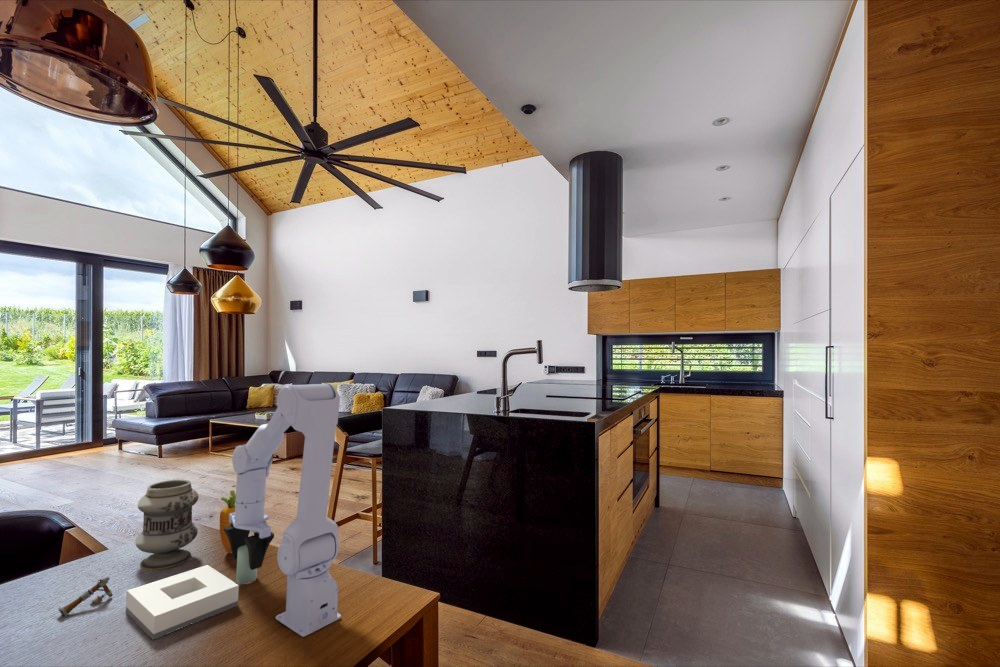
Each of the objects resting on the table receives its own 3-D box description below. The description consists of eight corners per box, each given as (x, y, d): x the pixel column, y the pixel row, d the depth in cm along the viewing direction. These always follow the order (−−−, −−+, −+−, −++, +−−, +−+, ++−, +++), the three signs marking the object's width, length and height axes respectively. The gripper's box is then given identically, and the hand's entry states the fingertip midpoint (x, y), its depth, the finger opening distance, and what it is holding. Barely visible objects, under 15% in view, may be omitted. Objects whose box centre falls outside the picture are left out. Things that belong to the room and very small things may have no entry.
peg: (260, 579, 102) (261, 547, 103) (241, 587, 99) (243, 553, 99) (251, 574, 105) (252, 542, 105) (232, 581, 101) (234, 548, 102)
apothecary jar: (151, 551, 115) (156, 477, 116) (205, 548, 117) (209, 476, 118) (121, 574, 103) (126, 491, 104) (181, 570, 105) (186, 490, 106)
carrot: (233, 558, 113) (236, 494, 113) (212, 557, 113) (216, 494, 113) (244, 549, 118) (247, 489, 118) (225, 548, 118) (228, 488, 118)
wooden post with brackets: (119, 592, 94) (110, 575, 93) (73, 627, 87) (62, 609, 86) (114, 590, 95) (105, 573, 93) (68, 625, 88) (57, 607, 87)
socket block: (237, 605, 92) (238, 585, 92) (153, 640, 80) (154, 616, 81) (206, 583, 100) (207, 564, 100) (125, 612, 89) (126, 590, 89)
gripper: (285, 502, 102) (282, 566, 101) (252, 489, 110) (249, 547, 110) (252, 510, 96) (249, 578, 95) (220, 496, 104) (217, 558, 104)
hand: (247, 562), depth 102 cm, fingers open, 7 cm apart
